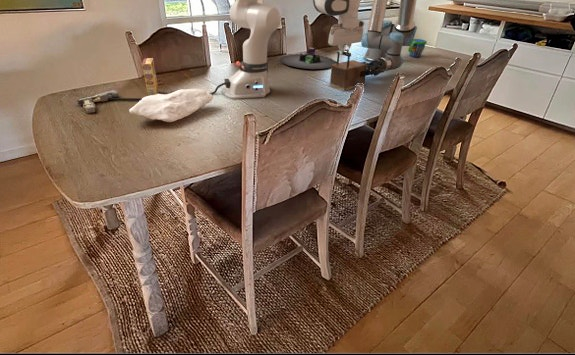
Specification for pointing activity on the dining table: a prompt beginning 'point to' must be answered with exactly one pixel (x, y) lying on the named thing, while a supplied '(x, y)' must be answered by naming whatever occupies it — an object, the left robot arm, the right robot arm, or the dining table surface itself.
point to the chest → (346, 78)
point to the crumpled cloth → (171, 104)
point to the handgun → (95, 100)
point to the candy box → (150, 76)
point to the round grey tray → (308, 60)
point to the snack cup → (417, 47)
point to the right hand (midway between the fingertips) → (353, 71)
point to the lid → (347, 63)
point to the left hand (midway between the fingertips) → (343, 53)
